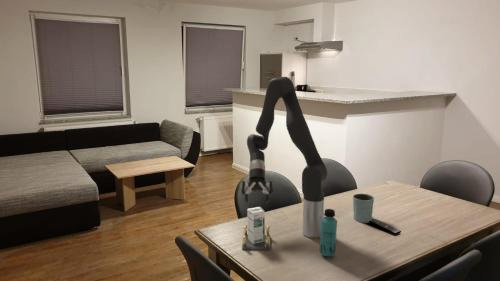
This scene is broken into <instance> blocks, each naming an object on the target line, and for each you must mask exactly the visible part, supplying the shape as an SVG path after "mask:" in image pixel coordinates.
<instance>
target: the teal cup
mask: <svg viewBox="0 0 500 281" xmlns="http://www.w3.org/2000/svg"><path fill="white" fill-rule="evenodd" d="M374 201H375V197H374V196H373V195H371V194H367V193H355V194H353V195H352V202H353V203H352V207H353V219H354V221H355V222H357V223H363V224H365V223H366V224H368V223H370V222H369V221H370V220H371V221H372V218H373V209H374Z"/></svg>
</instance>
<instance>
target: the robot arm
mask: <svg viewBox="0 0 500 281" xmlns="http://www.w3.org/2000/svg"><path fill="white" fill-rule="evenodd" d="M280 99H282V101H283V103H284V106H285V109H286V118H285V119H286V120H285V125H286V127H285V128H286V130H287V132H288V134H289V137H290V139H291V142H292V143H293V144H294V146H295V147H296V148H297V149H298V151H300V152H301V154H302V156H303V157H304V160H305V162H306V166H305V167H304V168H303V170H302V174H301V192H302V195H303V202H302V203H303V204H302V235H303V236H305V237H307V238H313V239H317V238H319V239H320V238H321V220H322V219H323V218H324V217H325V215H324V213H325V209H324V208H325V207H324V205H325V193H324V192H323V191H322V182H324V181H325V180H326V179H327V178H328V169H327V167H326V164H325V163H324V161H323V159H322V157H321V155H320V153H319V151H318V149H317V146H316V144H315V141H314V139H313V137H312V133H311V130H310V128H309V126H308V123H307V120H306V118H305V116H304V113H303V111H302V108H301V106H300V101H299V100H298V95H297V92H296V89H295V85H294V83H293V81H292V79H291V78H289V77H288V76H279V77H273V78H272V79H269V82H268V84H267V87H266V91H265V96H264V101H263V106H262V110H261V113H260V116H259V119H258V121H257V123H256V125H255V131H256V133H257V134H254V133H251V134H249V135H248V136H247V139H246V145H247V149H248V152H249V173H248V177H249V178H248V181H245V180H244V181H243V180H242V182H241V192H240V193H241V195H242V196H244V200H245V203H246V204H249V196H250V194H251V193H252V192H254V193H255V192H262V193H263V194H264V195H265V204H267V205H268V203H269V202H270V199H269V198H270V196H273V193H274V192H273V190H274V189H273V181H271V180H270V181H269V182H267V181H266V163H265V162H266V161H265V160H266V159H265V158H266V156H265V155H266V154H265V152H263V151H265V150H266V149H268V145H269V137H270V131H271V129H272V127H273V124H274V123H275V122H274V121H275V108H276V106H277V103H278V101H279V100H280ZM247 186H248V188H247V189H246V187H247ZM266 186H267V187H268V188H269V191H268V190H267V188H266Z"/></svg>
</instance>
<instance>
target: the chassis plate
mask: <svg viewBox="0 0 500 281" xmlns="http://www.w3.org/2000/svg"><path fill="white" fill-rule="evenodd" d="M243 227H244V228H243V230H244V231H243V235H242V246H241V250H243V251H244V250H245V251H247V250H250V251H271V234H270V228H271V227H270V225H265V228H266V231H265V233H266V234H265V241H264V242H260V243H255V244H252V243H251V242H250V241H249V239H248V224H247V225H244V226H243Z"/></svg>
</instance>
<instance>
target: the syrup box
mask: <svg viewBox="0 0 500 281" xmlns="http://www.w3.org/2000/svg"><path fill="white" fill-rule="evenodd" d="M246 212H247V234H248V239H249V241H250V242H251V243H252V244H255V243H260V242H264V241H265V235H266V234H265V233H266V231H265V228H266V225H265V222H266V221H265V217H266V216H265V213H266V212H265V210H264V209H263V208H262V207H261V206H256V207H251V208H247V211H246Z"/></svg>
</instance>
